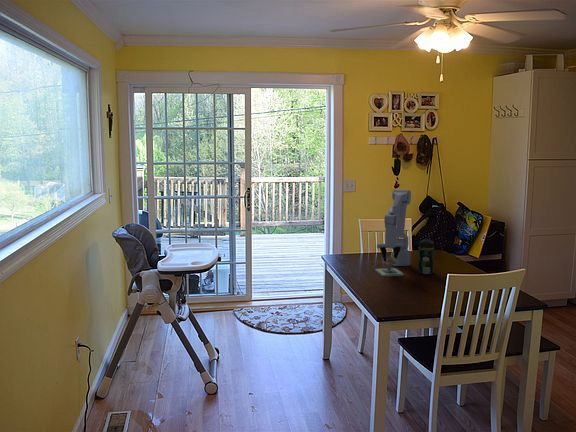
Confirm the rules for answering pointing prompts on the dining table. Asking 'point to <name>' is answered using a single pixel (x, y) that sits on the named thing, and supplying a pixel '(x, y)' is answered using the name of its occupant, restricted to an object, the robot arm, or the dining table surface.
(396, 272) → the pin board
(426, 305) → the dining table surface
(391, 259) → the collar
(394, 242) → the robot arm
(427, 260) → the coffee jar
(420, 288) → the dining table surface
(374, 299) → the dining table surface
